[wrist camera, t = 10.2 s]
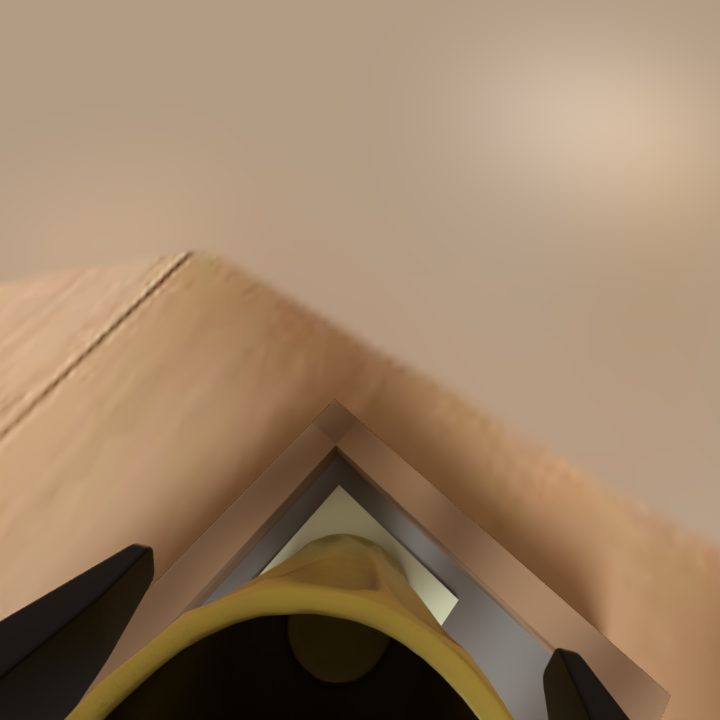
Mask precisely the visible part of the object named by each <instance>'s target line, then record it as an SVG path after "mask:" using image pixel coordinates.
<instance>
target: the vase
mask: <svg viewBox="0 0 720 720" xmlns="http://www.w3.org/2000/svg"><path fill="white" fill-rule="evenodd" d="M64 720H514V719H513V717H512V715H511V714H510V712H509V710H508V709H507V707H506V706H505V704H504V703H503V701H502V700H501V698H500V696H499V695H498V693H497V692H496V690H495V689H494V687H493V686H492V684H491V683H490V681H489V680H488V678H487V677H486V676H485V674H484V673H483V672H482V670H481V669H480V668H479V667H478V665H477V664H476V663H475V661H474V660H473V659H472V657H471V656H470V655H469V653H468V652H467V651H466V650H465V649H464V648H463V647H462V646H461V645H460V644H458V643H457V642H456V641H455V640H454V639H453V638H452V637H451V636H450V635H449V634H448V633H447V632H446V631H445V630H444V628H443V627H442V626H441V625H440V624H439V622H438V621H437V619H436V618H435V617H434V615H433V614H432V613H431V611H430V610H429V609H428V607H427V606H426V605H425V603H424V602H423V601H422V599H421V598H420V597H419V596H418V594H417V593H416V592H415V590H414V589H413V588H412V587H411V586H410V585H409V583H408V581H407V579H406V577H405V575H404V573H403V571H402V570H401V568H400V566H399V565H398V563H397V562H396V561H395V560H394V558H393V557H392V556H391V555H390V554H389V553H388V552H387V551H386V550H385V549H383V548H382V547H381V546H380V545H378V544H376V543H375V542H373V541H371V540H369V539H366V538H363V537H360V536H357V535H352V534H333V535H328V536H325V537H322V538H319V539H316V540H313V541H311V542H310V543H308V544H307V545H305V546H304V547H303V548H302V549H301V550H299V551H298V552H297V553H296V554H295V555H293V556H291V557H290V558H288V559H286V560H285V561H283V562H282V563H280V564H279V565H277V566H275V567H273V568H271V569H270V570H268V571H266V572H265V573H263V574H261V575H260V576H258V577H256V578H254V579H253V580H251V581H249V582H247V583H245V584H243V585H242V586H240V587H238V588H237V589H235V590H233V591H232V592H230V593H229V594H227V595H225V596H223V597H221V598H219V599H217V600H215V601H213V602H211V603H209V604H207V605H205V606H202V607H199V608H196V609H193V610H190V611H188V612H185V613H183V614H182V615H181V616H180V617H179V618H177V619H176V620H175V621H174V622H173V623H172V624H171V625H170V626H168V627H167V628H166V629H165V630H164V631H163V632H161V633H160V634H159V635H158V636H157V637H155V638H154V639H153V640H152V641H151V642H149V643H148V644H147V645H146V646H144V647H143V648H142V649H141V650H139V651H138V652H137V653H136V654H134V655H133V656H132V657H130V658H129V659H128V660H127V661H125V662H124V663H123V664H122V665H120V666H119V667H118V668H117V669H115V670H114V671H113V672H112V673H111V674H109V675H108V676H107V677H105V678H104V679H103V680H101V681H100V682H99V683H98V684H97V685H96V686H95V687H93V688H92V690H91V691H90V692H89V693H88V694H87V695H86V696H85V697H84V698H83V699H82V700H81V702H80V703H79V704H78V705H77V706H76V707H75V708H74V709H73V710H72V712H71V713H70V714H69V715H68V716H67V717H66V718H65V719H64Z"/></svg>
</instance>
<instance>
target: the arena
mask: <svg viewBox="0 0 720 720" xmlns="http://www.w3.org/2000/svg"><path fill="white" fill-rule="evenodd" d="M333 534H352V535H357V536H360V537H363V538H366V539H369V540H371V541H373V542H375V543H376V544H378V545H380V546H381V547H382V548H383V549H385V550H386V551H387V552H388V553H389V554H390V555H391V556H392V557H393V558H394V560H395V561H396V562H397V563H398V565H399V566H400V568H401V570H402V571H403V573H404V575H405V577H406V579H407V581H408V583H409V585H410V586H411V587H412V588H413V589H414V590H415V592H416V593H417V594H418V596H419V597H420V598H421V599H422V601H423V602H424V603H425V605H426V606H427V607H428V609H429V610H430V611H431V613H432V614H433V615H434V617H435V618H436V619H437V621H438V622H439V624H440V625H441V626H442V627H443V628H444V630H445V631H446V632H447V633H448V634H449V635H450V636H451V637H452V638H453V639H454V640H455V641H456V642H457V643H458V644H460V645H461V646H462V647H463V648H464V649H465V650H466V651H467V652H468V653H469V655H470V656H471V657H472V659H473V660H474V661H475V663H476V664H477V665H478V667H479V668H480V669H481V670H482V672H483V673H484V674H485V676H486V677H487V678H488V680H489V681H490V683H491V684H492V686H493V687H494V689H495V690H496V692H497V693H498V695H499V696H500V698H501V700H502V701H503V703H504V704H505V706H506V707H507V709H508V710H509V712H510V714H511V715H512V717H513V719H514V720H548V715H547V708H546V701H545V694H544V688H543V673H544V670H545V668H546V666H547V664H548V662H549V660H550V658H551V656H552V654H553V652H554V650H555V649H557V648H563V649H567V650H572V651H575V652H577V653H578V654H579V655H581V656H582V658H583V659H584V660H585V661H586V663H587V664H588V665H589V667H590V668H591V669H592V671H593V672H594V673H595V675H596V676H597V677H598V678H599V680H600V681H601V682H602V684H603V685H604V686H605V688H606V689H607V690H608V691H609V693H610V694H611V695H612V697H613V698H614V699H615V701H616V702H617V703H618V704H619V706H620V707H621V708H622V710H623V711H624V712H625V714H626V715H627V716H628V718H629V719H630V720H661V718H662V716H663V714H664V711H665V709H666V706H667V704H668V702H669V699H670V697H671V695H670V694H669V693H668V692H667V691H666V690H665V689H664V688H662V687H661V686H660V685H659V684H658V683H657V682H656V681H654V680H653V679H652V678H651V677H650V676H649V675H648V674H647V673H645V672H644V671H643V670H642V669H641V668H640V667H639V666H637V665H636V664H635V663H634V662H633V661H632V660H631V659H630V658H628V657H627V656H626V655H625V654H624V653H623V652H622V651H620V650H619V649H618V648H617V647H616V646H615V645H614V644H612V643H611V642H610V641H609V640H608V639H607V638H606V637H605V636H603V635H602V634H601V633H600V632H599V631H598V630H597V629H595V628H594V627H593V626H592V625H591V624H590V623H589V622H588V621H586V620H585V619H584V618H583V617H582V616H581V615H580V614H578V613H577V612H576V611H575V610H574V609H573V608H572V607H570V606H569V605H568V604H567V603H566V602H565V601H564V600H563V599H561V598H560V597H559V596H558V595H557V594H556V593H555V592H553V591H552V590H551V589H550V588H549V587H548V586H547V585H546V584H544V583H543V582H542V581H541V580H540V579H539V578H538V577H536V576H535V575H534V574H533V573H532V572H531V571H530V570H528V569H527V568H526V567H525V566H524V565H523V564H522V563H521V562H519V561H518V560H517V559H516V558H515V557H514V556H513V555H511V554H510V553H509V552H508V551H507V550H506V549H505V548H504V547H502V546H501V545H500V544H499V543H498V542H497V541H496V540H494V539H493V538H492V537H491V536H490V535H489V534H488V533H486V532H485V531H484V530H483V529H482V528H481V527H480V526H479V525H477V524H476V523H475V522H474V521H473V520H472V519H471V518H469V517H468V516H467V515H466V514H465V513H464V512H463V511H462V510H460V509H459V508H458V507H457V506H456V505H455V504H454V503H452V502H451V501H450V500H449V499H448V498H447V497H446V496H444V495H443V494H442V493H441V492H440V491H439V490H438V489H437V488H435V487H434V486H433V485H432V484H431V483H430V482H429V481H427V480H426V479H425V478H424V477H423V476H422V475H421V474H420V473H418V472H417V471H416V470H415V469H414V468H413V467H412V466H410V465H409V464H408V463H407V462H406V461H405V460H404V459H402V458H401V457H400V456H399V455H398V454H397V453H396V452H395V451H393V450H392V449H391V448H390V447H389V446H388V445H387V444H385V443H384V442H383V441H382V440H381V439H380V438H379V437H378V436H376V435H375V434H374V433H373V432H372V431H371V430H370V429H368V428H367V427H366V426H365V425H364V424H363V423H362V422H360V421H359V420H358V419H357V418H356V417H355V416H354V415H353V414H351V413H350V412H349V411H348V410H347V409H346V408H345V407H343V406H342V405H341V404H340V403H339V402H338V401H337V400H336V399H334V400H333V401H332V402H331V403H330V404H329V405H328V406H327V407H326V408H325V409H324V410H323V412H322V413H321V414H320V415H319V416H318V417H317V418H316V419H315V420H314V421H313V422H312V423H311V424H310V425H309V426H308V427H307V428H306V429H305V430H304V431H303V432H302V433H301V434H300V435H299V436H298V437H297V438H296V439H295V440H294V441H293V442H292V443H291V444H290V445H289V446H288V447H287V448H286V449H285V450H284V451H283V452H282V453H281V454H280V455H279V456H278V457H277V458H276V459H275V461H274V462H273V463H272V464H271V465H270V466H269V467H268V468H267V469H266V470H265V471H264V472H263V473H262V474H261V475H260V476H259V477H258V478H257V479H256V480H255V481H254V482H253V483H252V484H251V485H250V486H249V487H248V488H247V489H246V490H245V491H244V492H243V493H242V494H241V495H240V496H239V497H238V498H237V499H236V500H235V501H234V502H233V503H232V504H231V505H230V506H229V507H228V508H227V510H226V511H225V512H224V513H223V514H222V515H221V516H220V517H219V518H218V519H217V520H216V521H215V522H214V523H213V524H212V525H211V526H210V527H209V528H208V529H207V530H206V531H205V532H204V533H203V534H202V535H201V536H200V537H199V538H198V539H197V540H196V541H195V542H194V543H193V544H192V545H191V546H190V547H189V548H188V549H187V550H186V551H185V552H184V553H183V554H182V555H181V556H180V557H179V559H178V560H177V561H176V562H175V563H174V564H173V565H172V566H171V567H170V568H169V569H168V570H167V571H166V572H165V573H164V574H163V575H162V576H161V577H160V578H159V579H158V580H157V581H156V582H155V583H154V584H153V585H152V586H151V587H150V588H149V589H148V590H147V592H146V593H145V595H144V597H143V599H142V600H141V602H140V604H139V606H138V608H137V609H136V611H135V613H134V615H133V616H132V618H131V620H130V622H129V624H128V625H127V627H126V629H125V631H124V632H123V634H122V636H121V638H120V639H119V641H118V643H117V645H116V647H115V648H114V650H113V652H112V653H111V655H110V657H109V658H108V660H107V662H106V663H105V665H104V666H103V668H102V669H101V671H100V672H99V674H98V675H97V677H96V678H95V680H94V681H93V683H92V684H91V686H90V687H89V689H88V690H87V692H86V693H85V694H84V696H83V697H82V699H83V698H84V697H85V696H86V695H87V694H88V693H89V692H90V691H91V690H92V688H93V687H95V686H96V685H97V684H98V683H99V682H100V681H101V680H103V679H104V678H105V677H107V676H108V675H109V674H111V673H112V672H113V671H114V670H115V669H117V668H118V667H119V666H120V665H122V664H123V663H124V662H125V661H127V660H128V659H129V658H130V657H132V656H133V655H134V654H136V653H137V652H138V651H139V650H141V649H142V648H143V647H144V646H146V645H147V644H148V643H149V642H151V641H152V640H153V639H154V638H155V637H157V636H158V635H159V634H160V633H161V632H163V631H164V630H165V629H166V628H167V627H168V626H170V625H171V624H172V623H173V622H174V621H175V620H176V619H177V618H179V617H180V616H181V615H182V614H183V613H185V612H188V611H190V610H193V609H196V608H199V607H202V606H205V605H207V604H209V603H211V602H213V601H215V600H217V599H219V598H221V597H223V596H225V595H227V594H229V593H230V592H232V591H233V590H235V589H237V588H238V587H240V586H242V585H243V584H245V583H247V582H249V581H251V580H253V579H254V578H256V577H258V576H260V575H261V574H263V573H265V572H266V571H268V570H270V569H271V568H273V567H275V566H277V565H279V564H280V563H282V562H283V561H285V560H286V559H288V558H290V557H291V556H293V555H295V554H296V553H297V552H298V551H299V550H301V549H302V548H303V547H304V546H305V545H307V544H308V543H310V542H311V541H313V540H316V539H319V538H322V537H325V536H328V535H333ZM82 699H81V700H82ZM81 700H80V702H81ZM80 702H79V703H80ZM79 703H78V704H79Z"/></svg>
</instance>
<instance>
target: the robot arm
mask: <svg viewBox="0 0 720 720" xmlns="http://www.w3.org/2000/svg"><path fill="white" fill-rule="evenodd" d="M153 576H154V559H153V549H152V548H151V547H149V546H145V545H141V544H132V545H130V546H128V547H127V548H125V549H123V550H121V551H120V552H118V553H116V554H115V555H113V556H111V557H109V558H108V559H106V560H104V561H103V562H101V563H99V564H97V565H96V566H94V567H92V568H91V569H89V570H87V571H85V572H84V573H82V574H80V575H79V576H77V577H75V578H73V579H72V580H70V581H68V582H67V583H65V584H63V585H61V586H60V587H58V588H56V589H55V590H53V591H51V592H49V593H48V594H46V595H44V596H43V597H41V598H39V599H37V600H36V601H34V602H32V603H31V604H29V605H27V606H25V607H24V608H22V609H20V610H19V611H17V612H15V613H13V614H12V615H10V616H8V617H7V618H5V619H3V620H2V621H0V720H64V719H65V718H66V717H67V716H68V715H69V714H70V713H71V712H72V710H73V709H74V708H75V707H76V706H77V705H78V703H79V702H80V700H81V699H82V697H83V696H84V694H85V693H86V692H87V690H88V689H89V687H90V686H91V684H92V683H93V681H94V680H95V678H96V677H97V675H98V674H99V672H100V671H101V669H102V668H103V666H104V665H105V663H106V662H107V660H108V658H109V657H110V655H111V653H112V652H113V650H114V648H115V647H116V645H117V643H118V641H119V639H120V638H121V636H122V634H123V632H124V631H125V629H126V627H127V625H128V624H129V622H130V620H131V618H132V616H133V615H134V613H135V611H136V609H137V608H138V606H139V604H140V602H141V600H142V599H143V597H144V595H145V593H146V592H147V590H148V588H149V586H150V584H151V582H152V580H153ZM543 688H544V694H545V701H546V708H547V715H548V720H630V719H629V718H628V716H627V715H626V714H625V712H624V711H623V710H622V708H621V707H620V706H619V704H618V703H617V702H616V701H615V699H614V698H613V697H612V695H611V694H610V693H609V691H608V690H607V689H606V688H605V686H604V685H603V684H602V682H601V681H600V680H599V678H598V677H597V676H596V675H595V673H594V672H593V671H592V669H591V668H590V667H589V665H588V664H587V663H586V661H585V660H584V659H583V658H582V656H581V655H579V654H578V653H577V652H575V651H572V650H567V649H563V648H557V649H555V650H554V652H553V654H552V656H551V658H550V660H549V662H548V664H547V666H546V668H545V670H544V673H543Z"/></svg>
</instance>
